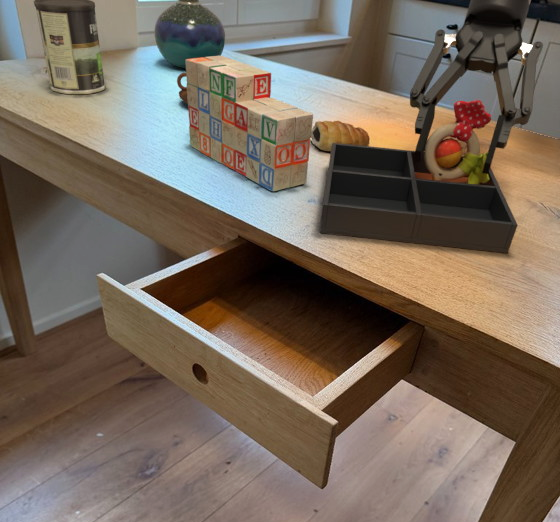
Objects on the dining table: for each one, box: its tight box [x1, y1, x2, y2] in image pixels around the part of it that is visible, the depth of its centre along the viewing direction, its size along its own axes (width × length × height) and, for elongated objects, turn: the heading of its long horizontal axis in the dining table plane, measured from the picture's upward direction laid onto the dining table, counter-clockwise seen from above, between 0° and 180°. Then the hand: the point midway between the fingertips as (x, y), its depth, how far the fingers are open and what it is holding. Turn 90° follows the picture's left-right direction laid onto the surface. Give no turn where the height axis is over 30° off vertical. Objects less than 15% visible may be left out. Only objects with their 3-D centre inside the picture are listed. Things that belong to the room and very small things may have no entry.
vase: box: [154, 0, 226, 70], centre depth 124 cm, size 15×15×13 cm
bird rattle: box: [424, 99, 492, 185], centre depth 75 cm, size 6×11×9 cm
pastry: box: [310, 120, 371, 152], centre depth 90 cm, size 9×7×4 cm
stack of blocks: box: [185, 55, 314, 192], centre depth 79 cm, size 21×6×12 cm, turn 38°
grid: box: [319, 143, 518, 254], centre depth 74 cm, size 22×22×4 cm
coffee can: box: [33, 0, 106, 95], centre depth 104 cm, size 10×10×14 cm
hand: (451, 162), depth 73 cm, fingers closed on bird rattle, 8 cm apart
